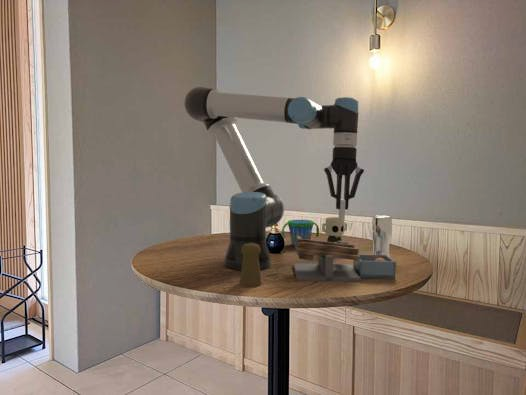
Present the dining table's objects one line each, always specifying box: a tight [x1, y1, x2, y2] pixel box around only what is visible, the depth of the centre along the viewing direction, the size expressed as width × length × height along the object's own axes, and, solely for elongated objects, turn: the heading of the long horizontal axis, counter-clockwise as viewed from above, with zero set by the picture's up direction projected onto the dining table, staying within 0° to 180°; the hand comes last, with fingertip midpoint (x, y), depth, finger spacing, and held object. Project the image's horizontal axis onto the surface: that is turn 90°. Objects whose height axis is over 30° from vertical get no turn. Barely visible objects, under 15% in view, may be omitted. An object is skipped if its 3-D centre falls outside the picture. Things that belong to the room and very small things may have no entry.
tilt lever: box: [294, 236, 360, 261], centre depth 123 cm, size 18×20×6 cm
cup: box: [352, 253, 397, 280], centre depth 119 cm, size 10×9×5 cm
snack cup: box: [281, 219, 320, 247], centre depth 163 cm, size 16×10×10 cm
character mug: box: [321, 216, 348, 242], centre depth 151 cm, size 11×7×13 cm, turn 111°
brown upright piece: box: [239, 243, 262, 287], centre depth 108 cm, size 6×6×11 cm
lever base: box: [293, 255, 362, 282], centre depth 119 cm, size 18×16×7 cm
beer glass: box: [371, 215, 393, 258], centre depth 141 cm, size 7×7×15 cm
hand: (341, 219), depth 130 cm, fingers closed
